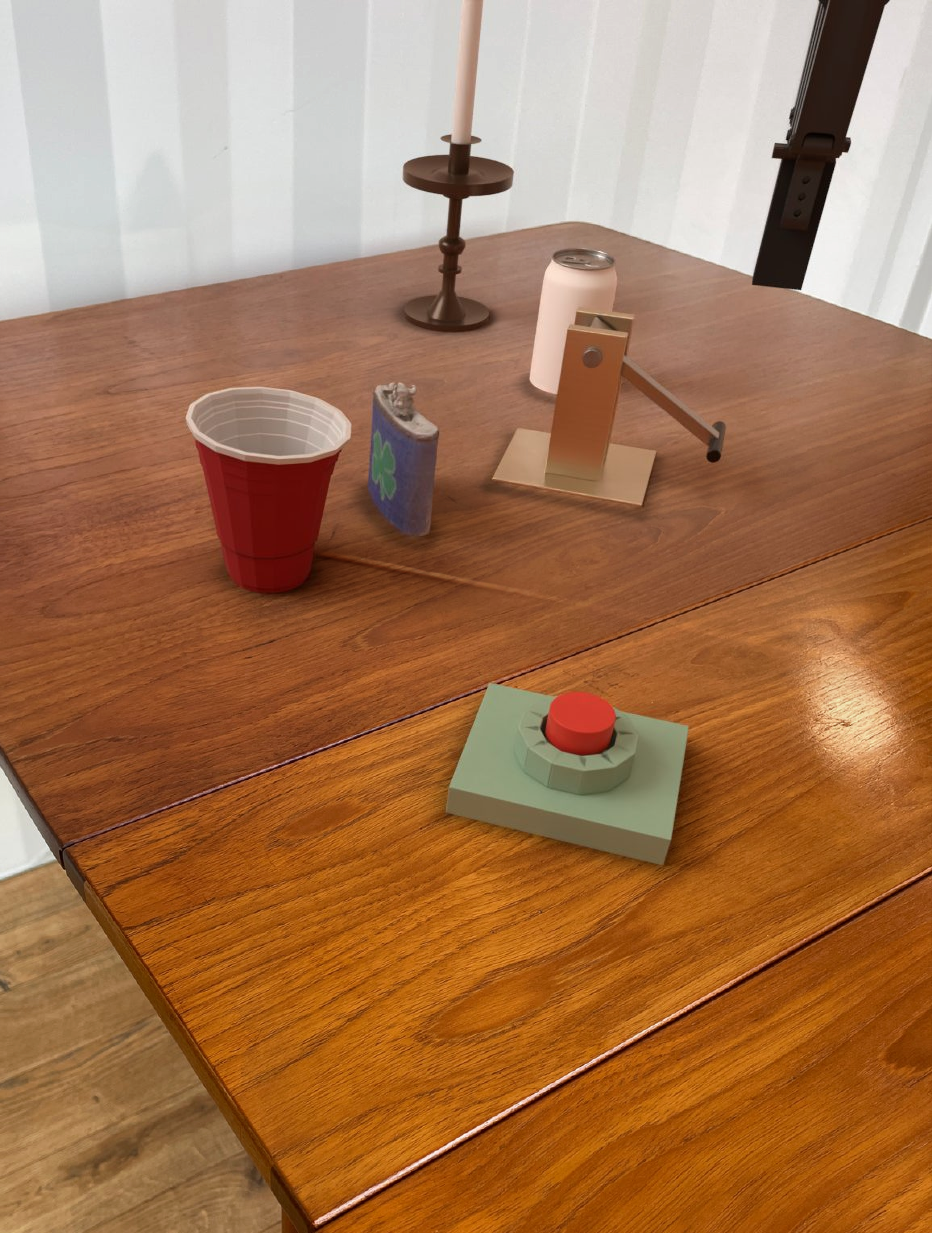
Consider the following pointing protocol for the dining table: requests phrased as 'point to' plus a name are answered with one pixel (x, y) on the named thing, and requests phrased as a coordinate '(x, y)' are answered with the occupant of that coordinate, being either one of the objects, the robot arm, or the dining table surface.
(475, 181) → the candlestick
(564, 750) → the button
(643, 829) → the button block
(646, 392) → the lever
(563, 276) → the can
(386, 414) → the flask
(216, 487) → the plastic cup
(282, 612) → the dining table surface
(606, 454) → the bracket
